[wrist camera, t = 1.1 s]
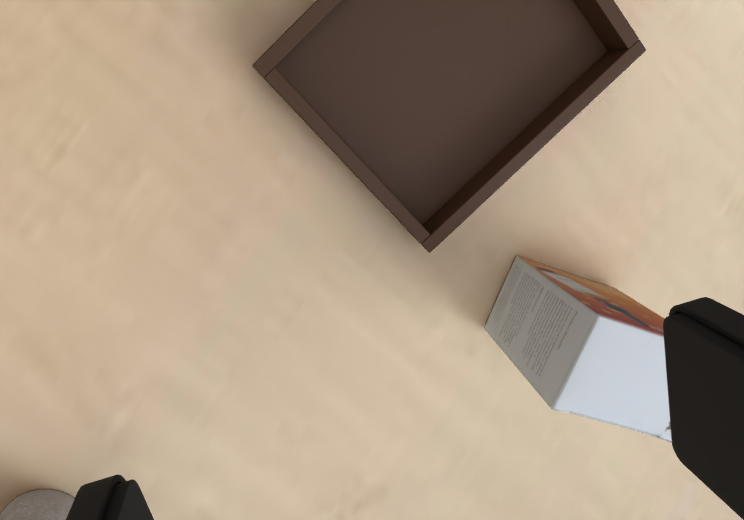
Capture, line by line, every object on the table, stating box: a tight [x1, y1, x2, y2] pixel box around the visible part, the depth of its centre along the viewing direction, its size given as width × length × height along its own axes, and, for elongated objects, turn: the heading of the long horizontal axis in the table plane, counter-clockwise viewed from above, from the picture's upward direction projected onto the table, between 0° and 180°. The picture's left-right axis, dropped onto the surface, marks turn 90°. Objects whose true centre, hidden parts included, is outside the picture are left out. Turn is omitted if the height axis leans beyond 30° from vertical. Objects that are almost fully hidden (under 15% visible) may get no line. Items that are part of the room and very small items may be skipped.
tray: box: [253, 0, 646, 253], centre depth 33 cm, size 14×17×3 cm
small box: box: [485, 256, 672, 442], centre depth 35 cm, size 8×6×10 cm
